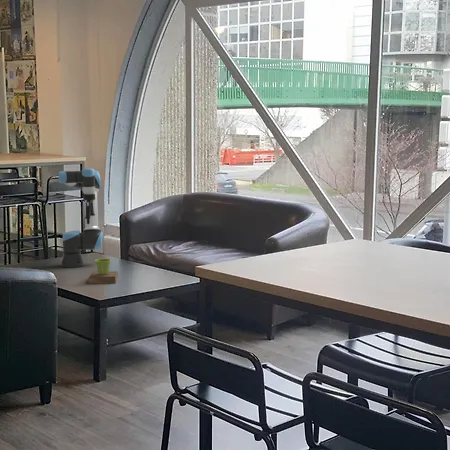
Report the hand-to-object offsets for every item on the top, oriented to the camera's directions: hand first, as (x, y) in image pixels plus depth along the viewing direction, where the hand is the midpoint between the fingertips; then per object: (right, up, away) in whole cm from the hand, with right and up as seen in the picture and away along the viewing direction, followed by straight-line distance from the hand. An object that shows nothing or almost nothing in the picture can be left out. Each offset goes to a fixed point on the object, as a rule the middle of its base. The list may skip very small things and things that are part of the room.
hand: (90, 227), depth 437 cm
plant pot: (+10, -28, -10) cm, 32 cm away
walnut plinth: (+10, -32, -9) cm, 35 cm away
